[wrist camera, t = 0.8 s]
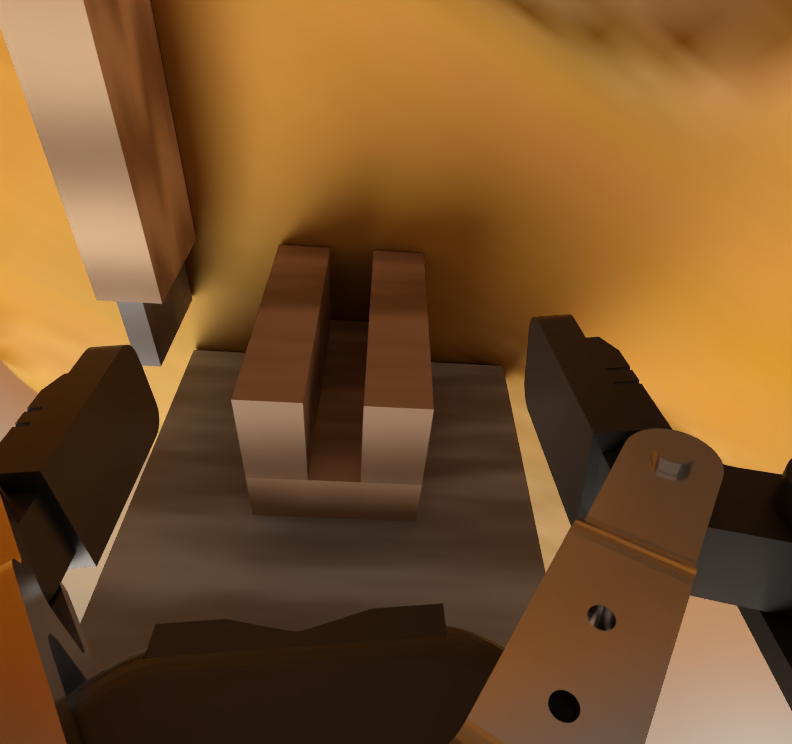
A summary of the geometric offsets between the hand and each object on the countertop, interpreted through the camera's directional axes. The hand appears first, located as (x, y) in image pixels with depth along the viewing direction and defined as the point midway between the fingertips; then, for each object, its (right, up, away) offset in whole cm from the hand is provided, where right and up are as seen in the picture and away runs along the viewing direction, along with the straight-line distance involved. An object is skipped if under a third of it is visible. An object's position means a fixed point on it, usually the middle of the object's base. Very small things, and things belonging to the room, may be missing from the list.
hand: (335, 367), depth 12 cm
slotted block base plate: (-2, +4, +22) cm, 23 cm away
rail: (-11, +11, +16) cm, 22 cm away
